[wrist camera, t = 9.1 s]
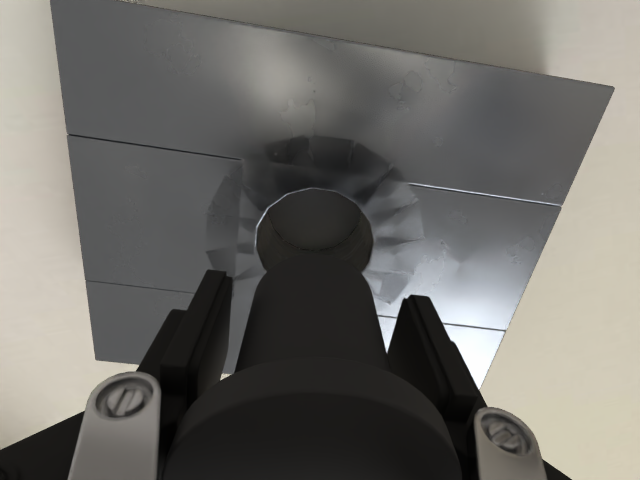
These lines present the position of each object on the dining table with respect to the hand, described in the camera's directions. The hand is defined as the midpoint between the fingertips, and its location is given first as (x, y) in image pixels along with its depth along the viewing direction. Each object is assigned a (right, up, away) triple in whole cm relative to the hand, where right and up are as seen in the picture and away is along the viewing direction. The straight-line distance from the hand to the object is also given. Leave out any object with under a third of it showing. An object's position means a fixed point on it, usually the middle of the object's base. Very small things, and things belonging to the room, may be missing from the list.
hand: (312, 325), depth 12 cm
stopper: (0, 0, +1) cm, 1 cm away
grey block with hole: (0, +4, +9) cm, 10 cm away
